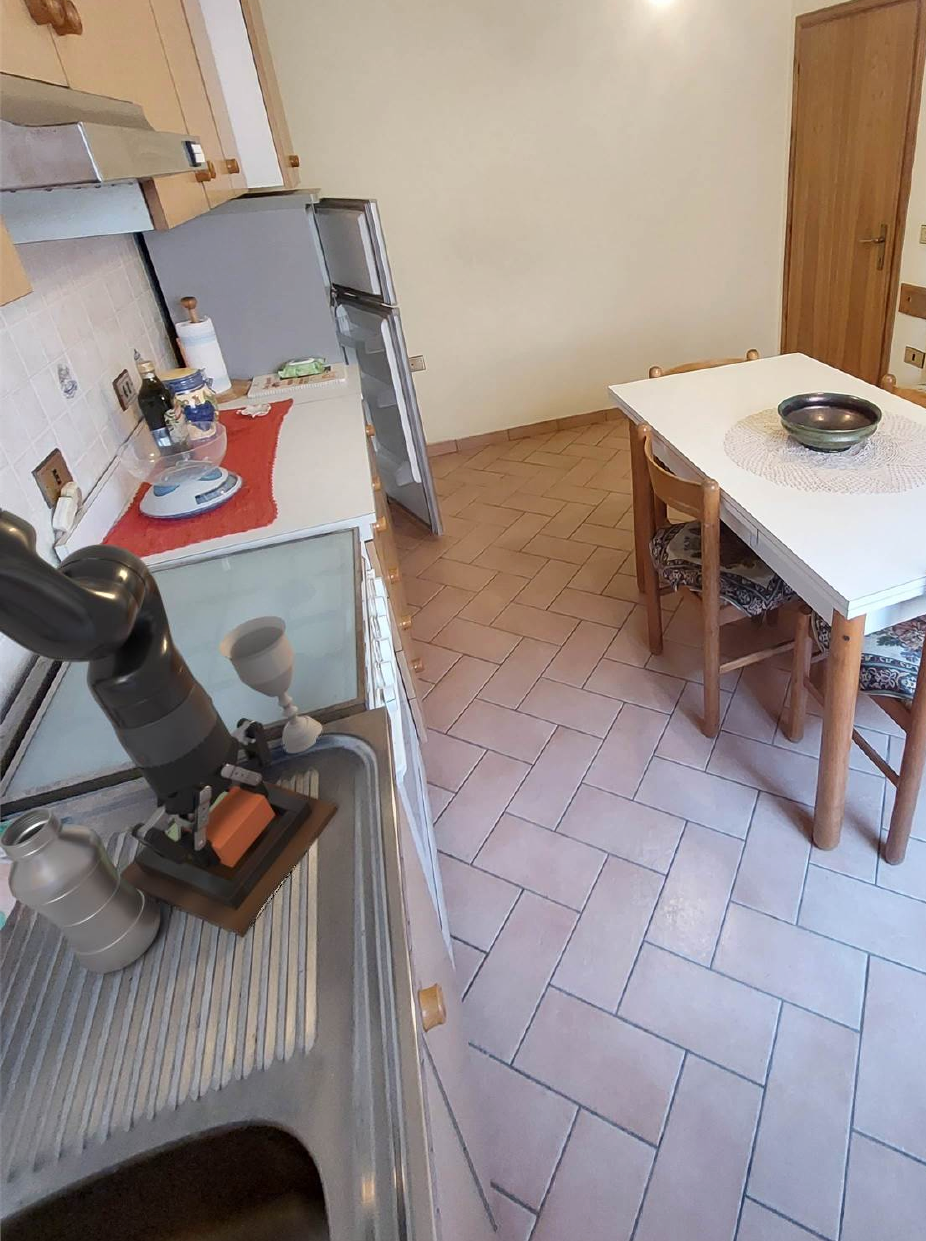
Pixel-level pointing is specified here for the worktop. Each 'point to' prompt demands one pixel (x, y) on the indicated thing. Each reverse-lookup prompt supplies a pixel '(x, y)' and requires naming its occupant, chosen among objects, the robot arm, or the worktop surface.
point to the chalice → (270, 673)
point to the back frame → (237, 865)
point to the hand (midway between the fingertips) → (236, 831)
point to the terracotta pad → (237, 823)
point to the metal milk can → (79, 890)
